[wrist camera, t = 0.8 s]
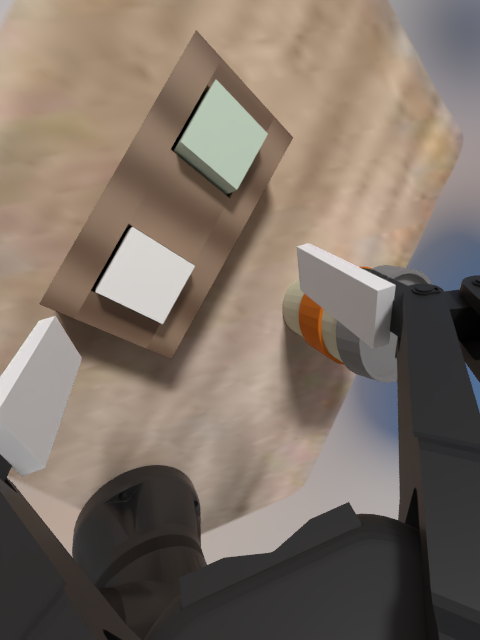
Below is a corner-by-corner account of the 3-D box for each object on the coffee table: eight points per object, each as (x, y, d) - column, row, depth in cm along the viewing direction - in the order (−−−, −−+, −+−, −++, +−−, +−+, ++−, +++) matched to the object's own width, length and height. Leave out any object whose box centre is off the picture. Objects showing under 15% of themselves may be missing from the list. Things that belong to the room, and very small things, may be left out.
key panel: (159, 342, 34) (171, 359, 28) (50, 294, 28) (39, 303, 23) (263, 155, 34) (293, 137, 29) (178, 71, 29) (196, 30, 23)
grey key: (153, 313, 30) (162, 324, 25) (96, 285, 27) (95, 291, 22) (181, 264, 30) (195, 265, 26) (127, 231, 27) (132, 226, 23)
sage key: (217, 199, 30) (237, 189, 26) (167, 159, 27) (180, 141, 23) (243, 151, 30) (268, 133, 26) (197, 107, 28) (215, 79, 23)
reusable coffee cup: (258, 330, 39) (338, 368, 26) (293, 247, 39) (391, 243, 26) (319, 354, 45) (408, 395, 32) (350, 282, 45) (453, 294, 32)
